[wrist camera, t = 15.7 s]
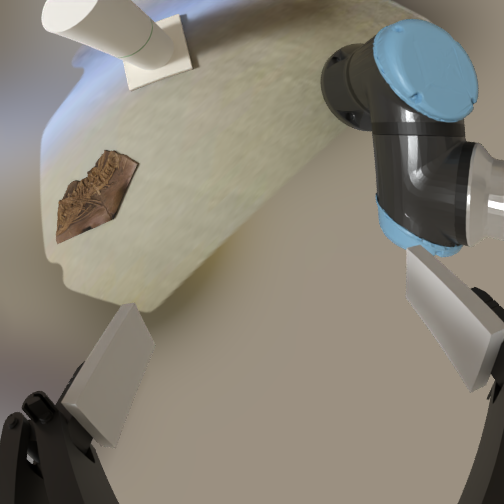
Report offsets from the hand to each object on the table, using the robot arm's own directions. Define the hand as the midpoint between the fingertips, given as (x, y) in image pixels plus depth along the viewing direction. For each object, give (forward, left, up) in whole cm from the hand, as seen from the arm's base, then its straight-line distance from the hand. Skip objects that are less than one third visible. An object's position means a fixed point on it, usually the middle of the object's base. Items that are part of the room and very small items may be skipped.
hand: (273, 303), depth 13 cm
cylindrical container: (+12, -26, -36) cm, 46 cm away
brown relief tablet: (+32, -4, -37) cm, 49 cm away
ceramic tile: (+12, -26, -37) cm, 47 cm away
